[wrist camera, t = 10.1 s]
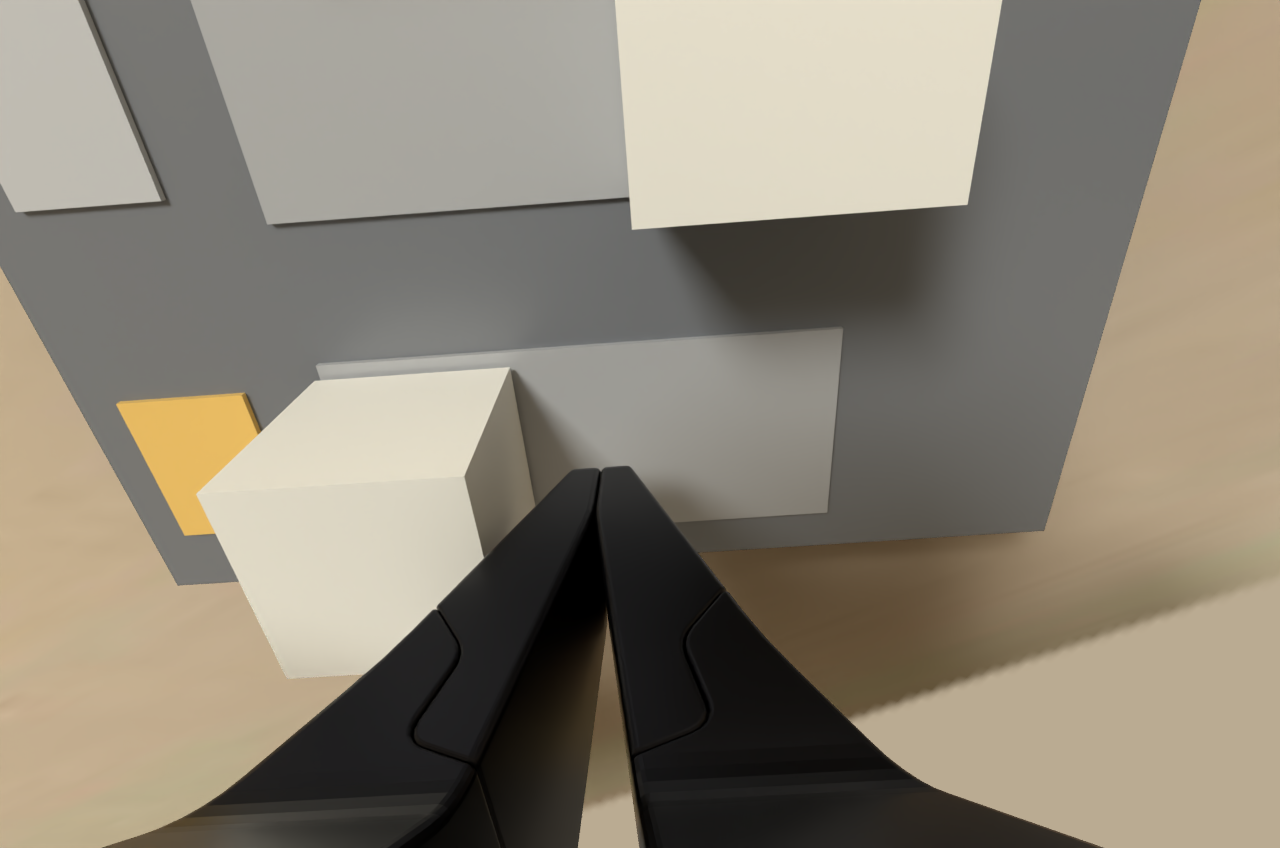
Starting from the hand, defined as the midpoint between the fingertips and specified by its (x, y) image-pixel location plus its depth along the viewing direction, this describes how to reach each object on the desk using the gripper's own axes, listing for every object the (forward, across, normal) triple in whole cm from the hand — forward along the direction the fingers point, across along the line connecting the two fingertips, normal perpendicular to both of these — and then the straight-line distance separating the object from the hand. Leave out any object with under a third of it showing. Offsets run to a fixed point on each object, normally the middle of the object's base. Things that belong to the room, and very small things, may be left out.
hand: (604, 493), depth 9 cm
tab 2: (+1, -2, -5) cm, 6 cm away
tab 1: (+1, +3, 0) cm, 3 cm away
